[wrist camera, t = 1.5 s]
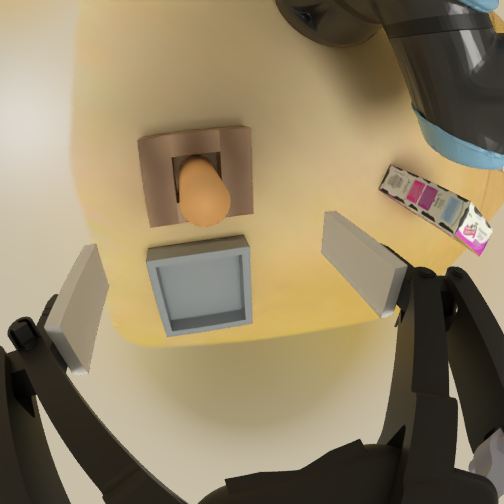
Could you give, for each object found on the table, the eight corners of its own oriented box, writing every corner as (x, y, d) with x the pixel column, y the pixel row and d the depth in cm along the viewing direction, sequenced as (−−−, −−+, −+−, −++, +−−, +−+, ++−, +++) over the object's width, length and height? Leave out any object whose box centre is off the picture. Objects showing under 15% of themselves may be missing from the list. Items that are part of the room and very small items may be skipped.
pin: (211, 152, 32) (229, 175, 21) (213, 184, 34) (232, 223, 23) (177, 156, 31) (176, 181, 20) (181, 188, 33) (183, 229, 22)
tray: (243, 234, 38) (249, 246, 35) (247, 308, 45) (252, 323, 42) (148, 248, 36) (146, 261, 33) (166, 321, 42) (167, 337, 39)
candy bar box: (376, 191, 40) (454, 235, 26) (389, 163, 39) (471, 199, 25) (414, 215, 45) (480, 258, 31) (425, 191, 43) (495, 229, 29)
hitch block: (242, 125, 32) (250, 127, 28) (245, 203, 36) (253, 213, 33) (142, 137, 29) (137, 140, 26) (153, 215, 34) (150, 227, 31)
